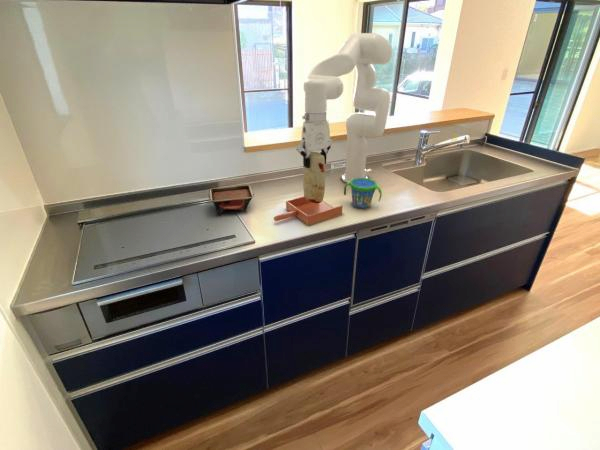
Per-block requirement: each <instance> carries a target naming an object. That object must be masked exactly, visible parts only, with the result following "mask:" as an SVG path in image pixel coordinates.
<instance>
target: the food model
mask: <svg viewBox="0 0 600 450" xmlns="http://www.w3.org/2000/svg"><path fill="white" fill-rule="evenodd" d="M309 158H310V168H306V167H304V165H303V164H302V165H303V166H302V185H303V186H302V187H303V196H304V197H305V198H306V199H307V200H308V201H310V202H313V203H321V202H322V201H323V200H324V197H325V191H326V190H325V189H326V164H325V158H324V156H323V155H321V153H320V152H317V151H311V152H310V154H309ZM323 202H324V201H323Z"/></svg>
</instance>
